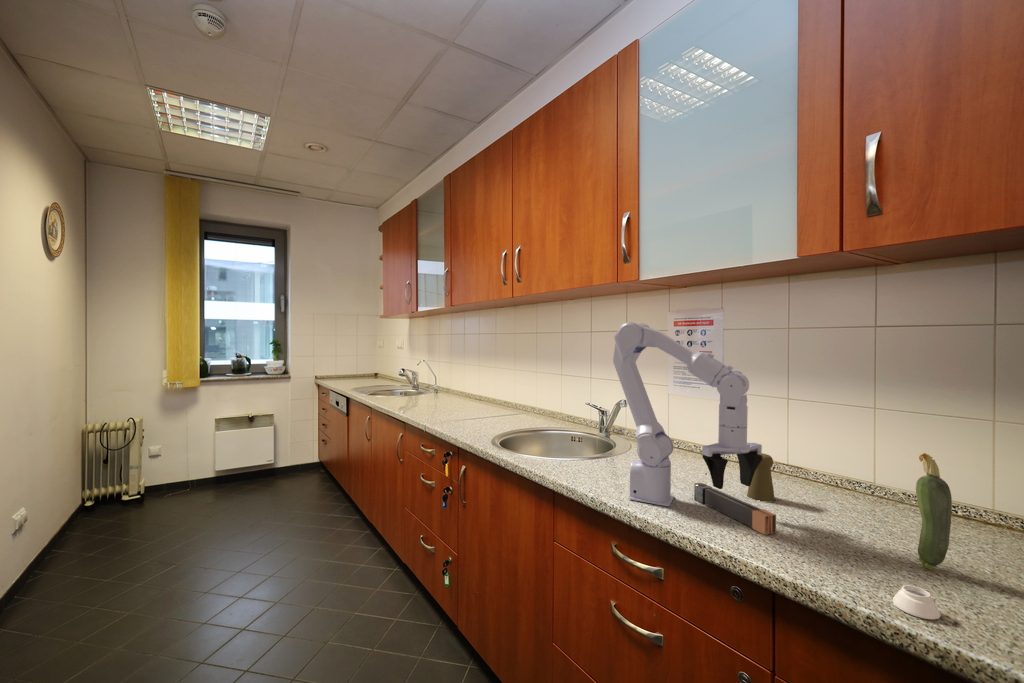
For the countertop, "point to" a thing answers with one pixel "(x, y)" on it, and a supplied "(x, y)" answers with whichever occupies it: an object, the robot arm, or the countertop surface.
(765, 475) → the cork
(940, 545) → the vegetable
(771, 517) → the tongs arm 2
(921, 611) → the upside-down white bowl
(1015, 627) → the countertop surface
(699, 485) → the tongs hub
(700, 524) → the countertop surface
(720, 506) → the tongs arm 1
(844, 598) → the countertop surface
